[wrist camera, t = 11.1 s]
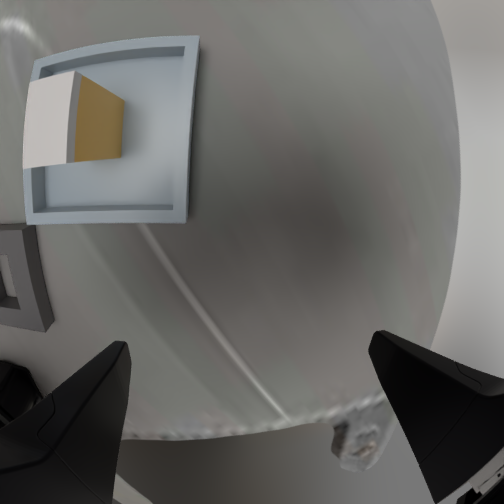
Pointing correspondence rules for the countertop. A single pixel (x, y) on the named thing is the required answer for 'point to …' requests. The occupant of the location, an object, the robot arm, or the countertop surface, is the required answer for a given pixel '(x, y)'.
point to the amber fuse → (71, 121)
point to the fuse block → (24, 280)
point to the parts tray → (126, 137)
